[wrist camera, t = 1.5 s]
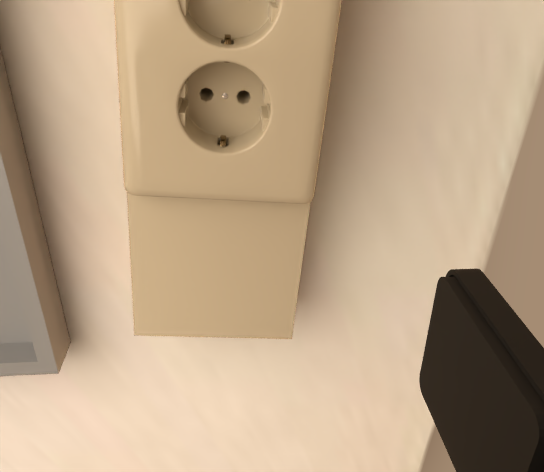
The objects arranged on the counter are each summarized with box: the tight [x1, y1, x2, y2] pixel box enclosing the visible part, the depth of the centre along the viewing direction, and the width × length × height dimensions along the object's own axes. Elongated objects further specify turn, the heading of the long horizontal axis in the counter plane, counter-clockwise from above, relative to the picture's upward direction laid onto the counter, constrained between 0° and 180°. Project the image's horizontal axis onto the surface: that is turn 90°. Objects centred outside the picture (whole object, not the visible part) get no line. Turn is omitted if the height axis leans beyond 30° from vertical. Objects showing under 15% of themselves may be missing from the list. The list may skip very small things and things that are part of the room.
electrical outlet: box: [114, 0, 342, 339], centre depth 20 cm, size 7×4×18 cm
